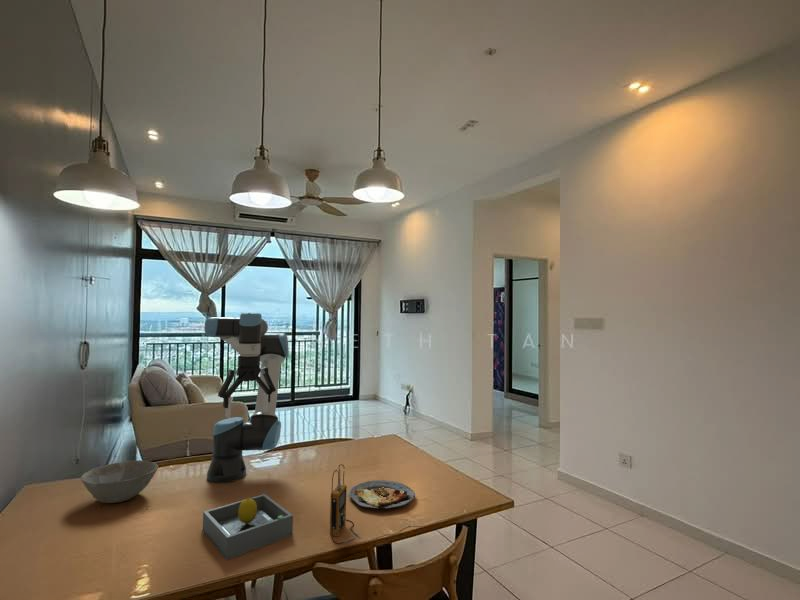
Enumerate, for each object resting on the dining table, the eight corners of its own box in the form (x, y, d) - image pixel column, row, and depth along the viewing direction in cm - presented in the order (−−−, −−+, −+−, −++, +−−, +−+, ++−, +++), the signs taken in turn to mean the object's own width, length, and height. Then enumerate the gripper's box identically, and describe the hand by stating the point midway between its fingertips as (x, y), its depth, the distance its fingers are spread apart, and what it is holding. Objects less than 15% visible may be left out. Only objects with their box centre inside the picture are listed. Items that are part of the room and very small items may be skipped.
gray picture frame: (213, 527, 127) (214, 523, 127) (260, 512, 137) (260, 508, 137) (232, 547, 116) (232, 543, 116) (281, 529, 126) (281, 525, 126)
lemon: (240, 520, 129) (241, 494, 129) (258, 519, 129) (259, 494, 130) (235, 529, 123) (236, 502, 124) (253, 528, 124) (254, 501, 124)
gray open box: (202, 531, 127) (203, 509, 127) (264, 511, 140) (264, 492, 141) (226, 560, 112) (227, 536, 112) (292, 535, 125) (293, 513, 126)
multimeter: (356, 547, 120) (358, 478, 121) (324, 543, 122) (326, 474, 123) (370, 523, 134) (371, 461, 135) (341, 519, 136) (343, 458, 137)
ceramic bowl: (164, 498, 149) (166, 470, 149) (86, 520, 132) (88, 489, 132) (146, 481, 164) (147, 455, 164) (73, 498, 147) (75, 470, 147)
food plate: (426, 504, 148) (426, 494, 148) (368, 520, 136) (368, 509, 137) (392, 482, 170) (392, 473, 170) (340, 494, 158) (340, 484, 158)
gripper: (217, 357, 137) (214, 421, 136) (285, 354, 154) (284, 411, 153) (209, 355, 142) (207, 417, 141) (276, 352, 159) (274, 407, 158)
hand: (247, 414), depth 147 cm, fingers open, 13 cm apart
